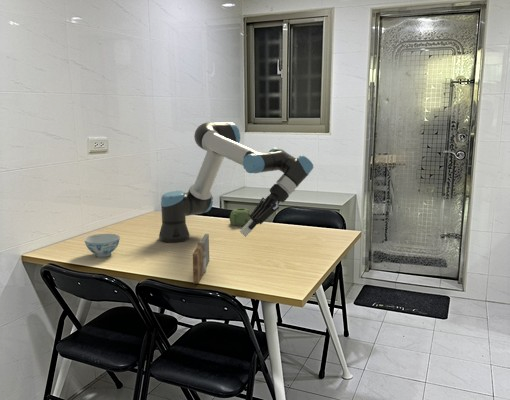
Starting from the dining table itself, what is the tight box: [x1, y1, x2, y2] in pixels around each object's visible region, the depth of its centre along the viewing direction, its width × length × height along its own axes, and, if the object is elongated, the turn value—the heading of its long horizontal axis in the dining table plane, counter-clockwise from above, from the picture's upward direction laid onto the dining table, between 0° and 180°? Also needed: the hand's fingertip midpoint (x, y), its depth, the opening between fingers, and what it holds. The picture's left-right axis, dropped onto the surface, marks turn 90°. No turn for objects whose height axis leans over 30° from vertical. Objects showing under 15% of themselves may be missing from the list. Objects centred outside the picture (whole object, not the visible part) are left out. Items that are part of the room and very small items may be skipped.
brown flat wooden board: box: [192, 241, 206, 285], centre depth 180 cm, size 15×3×12 cm, turn 176°
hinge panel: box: [200, 233, 210, 274], centre depth 192 cm, size 15×3×12 cm, turn 177°
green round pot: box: [229, 207, 252, 227], centre depth 263 cm, size 16×13×9 cm
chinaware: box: [84, 233, 121, 258], centre depth 209 cm, size 15×15×8 cm
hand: (242, 234), depth 182 cm, fingers closed
